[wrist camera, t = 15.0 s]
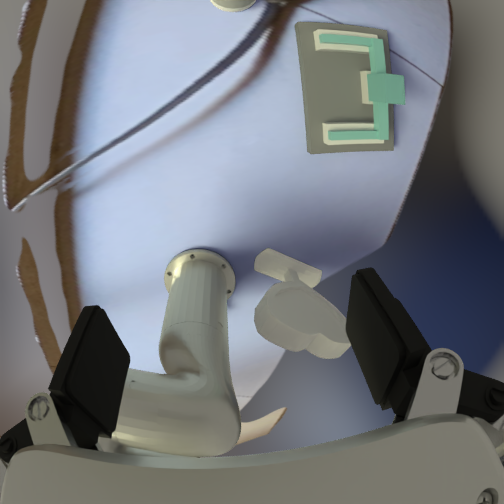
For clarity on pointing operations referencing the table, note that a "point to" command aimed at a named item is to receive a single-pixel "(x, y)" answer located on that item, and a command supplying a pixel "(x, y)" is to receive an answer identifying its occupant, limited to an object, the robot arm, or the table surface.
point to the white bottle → (233, 5)
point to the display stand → (339, 87)
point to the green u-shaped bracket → (372, 88)
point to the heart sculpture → (298, 309)
